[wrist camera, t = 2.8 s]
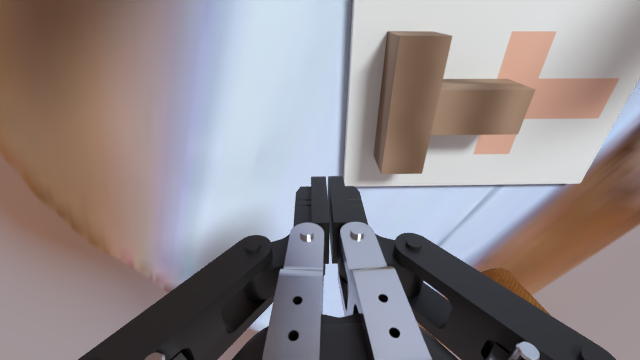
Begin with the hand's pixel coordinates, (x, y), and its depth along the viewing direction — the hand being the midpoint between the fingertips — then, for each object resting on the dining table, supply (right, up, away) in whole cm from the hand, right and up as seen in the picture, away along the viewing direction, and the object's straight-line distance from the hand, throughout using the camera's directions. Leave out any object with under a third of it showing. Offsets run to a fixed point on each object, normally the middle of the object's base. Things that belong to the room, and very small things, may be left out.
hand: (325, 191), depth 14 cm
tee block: (+11, +8, +14) cm, 20 cm away
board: (+16, +9, +15) cm, 24 cm away
